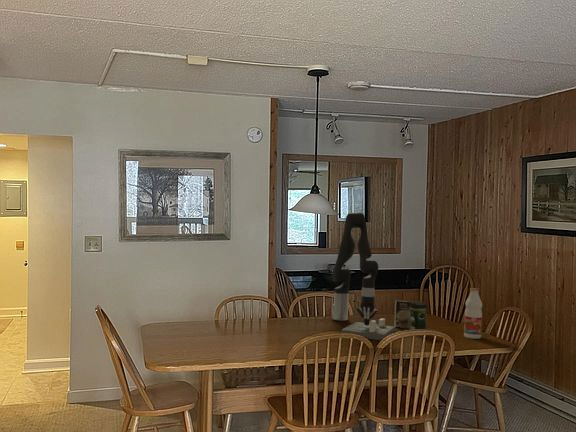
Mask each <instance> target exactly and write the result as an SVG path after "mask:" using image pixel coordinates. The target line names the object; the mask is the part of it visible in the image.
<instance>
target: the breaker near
mask: <svg viewBox="0 0 576 432" xmlns="http://www.w3.org/2000/svg"><path fill="white" fill-rule="evenodd" d="M376 324H377V323H376ZM376 324H373V323H372V324H370V327H369V332H375V331H376Z"/></svg>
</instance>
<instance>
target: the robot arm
mask: <svg viewBox="0 0 576 432" xmlns="http://www.w3.org/2000/svg"><path fill="white" fill-rule="evenodd" d="M352 229H359V230H360V235H359V238H358V241H357V243H355V240H354V238H353V236H352ZM356 244H357V250H358V254H359V269H360V271H361V272H362V273H363V274H368V275H367V276H364V277H362V280H361V281H362V284H361V298H360V299H361V300H360V305H359V307H357V308H356V311H357V313H358V314H359V316H360V317H361V318H363V319H364V320H363V323H364V324H365V325H367V326H368V325H369V322H370V321H371V319H373V318H374V317H375V316H376V315H377V313H378V312H379V310H378V309H377V308H376V305H375V298H376V297H375V296H376V294H375V293H376V290H375V286H376V285H375V284H376V283H375V281H376V277H377V275H378V271H379V263H378V262H377V261H376V260H368V259H370V258H371V257H372V256H373V255H372V249H371V247H370V243H369V236H368V227H367V222H366V216H365V214H364V213H363V212H348V213H347V215H346V216H345V221H344V228H343V233H342V237H341V241H340V246H339V249H338V253H337V257H336V261H335V264H334V267H333V269H332V274H331V275H332V277H331V278H332V281H333V282H335V283H341V285H339V286H337V287H335V288H334V290H333V292H334V295H333V304H332V314H331V315H332V318H331V320H334V321H342V322H343V321H348V320H349V319H348V318H349V295H350V294H349V291H350V281H351V270H350V268H348V267H344V265H345V264H346V263H347V262H348V261H349V260H350V259H352V258H353V256H354V253H355V249H356Z"/></svg>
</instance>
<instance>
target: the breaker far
mask: <svg viewBox="0 0 576 432" xmlns="http://www.w3.org/2000/svg"><path fill="white" fill-rule="evenodd" d="M378 325H379V326H380V327H383V326H386V318H382V317H380V319H378Z"/></svg>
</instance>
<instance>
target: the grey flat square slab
mask: <svg viewBox="0 0 576 432" xmlns="http://www.w3.org/2000/svg"><path fill="white" fill-rule="evenodd" d="M340 331H341V332H350V333H356V334H359V335H362V336H364V337H366V338H365V339H369V340H370V339H371V340H376V341H382V340H381V339H383V338H384V337H385V336H387V335H389V334H391V333H393V332H394V333H396V327H395V326H394V325H385V326H383V327H380V326H379V324H377V323H376V331H375V332H369V325H368V326H367V325H365V324H364V322H358V321H355V322H354V323H353V322H352V324H349V325H347V326H346V327H344V328H342V329H341V330H340ZM394 333H393V334H394ZM391 335H392V334H391Z"/></svg>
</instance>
